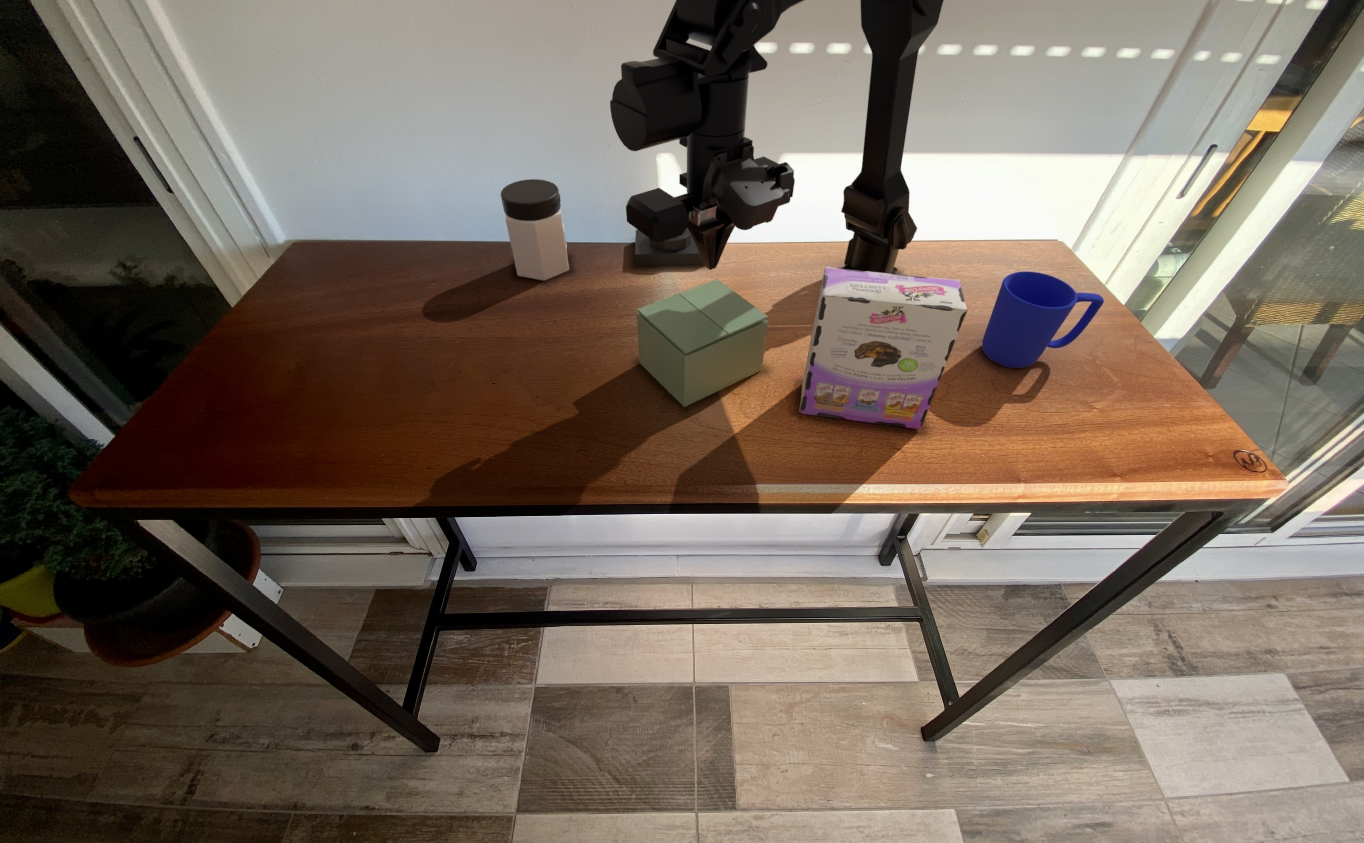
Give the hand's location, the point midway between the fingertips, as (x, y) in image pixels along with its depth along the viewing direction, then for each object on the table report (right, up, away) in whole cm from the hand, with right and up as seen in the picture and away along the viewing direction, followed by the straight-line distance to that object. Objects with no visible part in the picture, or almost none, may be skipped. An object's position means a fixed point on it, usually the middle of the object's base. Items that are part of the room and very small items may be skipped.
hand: (710, 267), depth 69 cm
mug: (+41, -9, +8) cm, 43 cm away
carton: (-1, -11, +6) cm, 13 cm away
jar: (-25, +6, +23) cm, 35 cm away
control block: (-5, +9, +26) cm, 28 cm away
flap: (+1, -4, +2) cm, 5 cm away
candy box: (+18, -16, +1) cm, 24 cm away
